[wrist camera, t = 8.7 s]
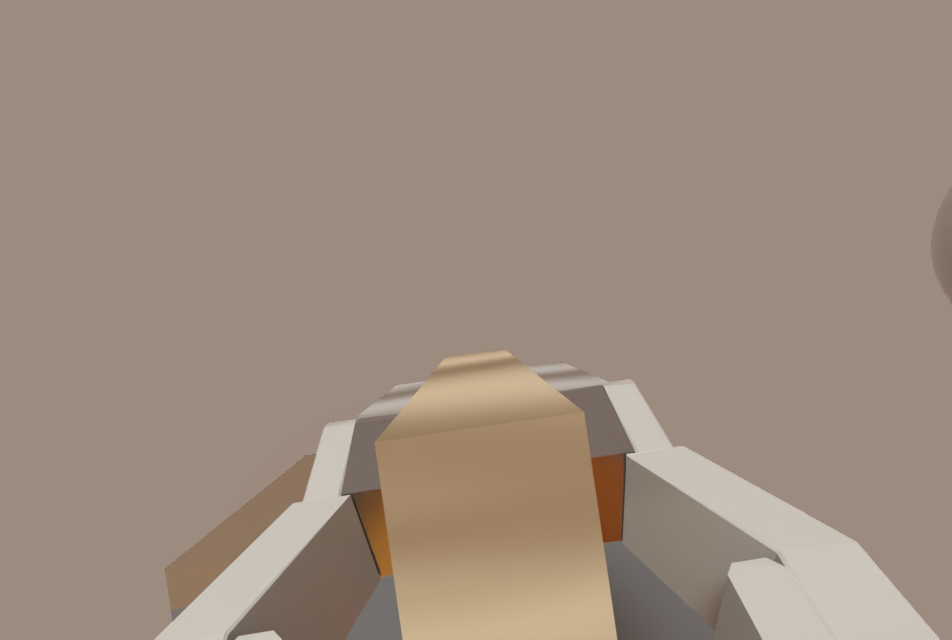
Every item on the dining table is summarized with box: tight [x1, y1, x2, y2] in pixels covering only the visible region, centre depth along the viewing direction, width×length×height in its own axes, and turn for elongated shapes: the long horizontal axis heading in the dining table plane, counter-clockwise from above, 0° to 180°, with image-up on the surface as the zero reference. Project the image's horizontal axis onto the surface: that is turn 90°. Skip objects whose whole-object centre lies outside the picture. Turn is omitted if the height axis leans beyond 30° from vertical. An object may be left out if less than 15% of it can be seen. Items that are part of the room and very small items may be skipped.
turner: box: [354, 349, 617, 640], centre depth 16 cm, size 22×9×2 cm, turn 1°
